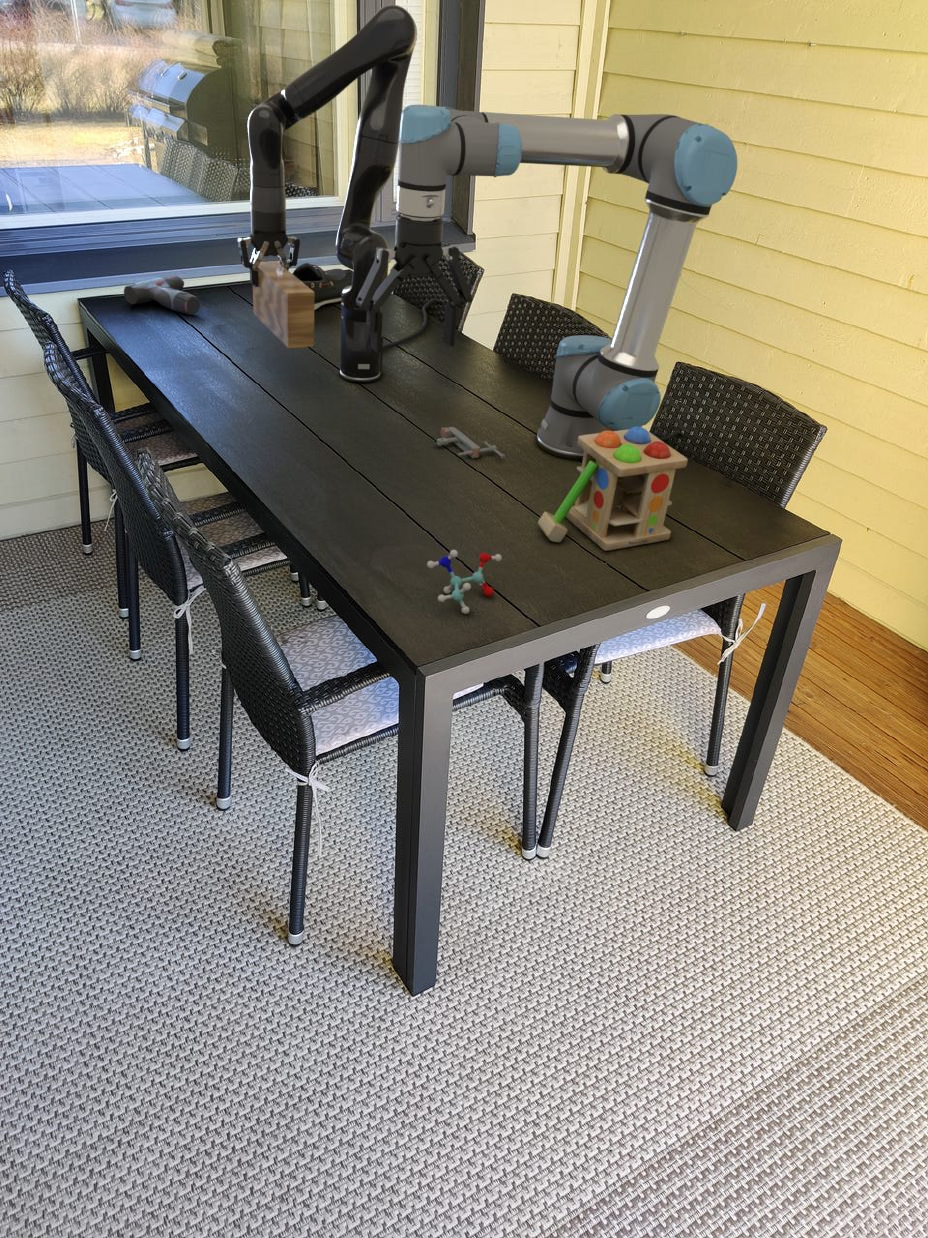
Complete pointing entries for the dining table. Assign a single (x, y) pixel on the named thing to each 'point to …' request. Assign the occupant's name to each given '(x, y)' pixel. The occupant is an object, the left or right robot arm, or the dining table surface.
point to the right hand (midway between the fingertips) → (412, 346)
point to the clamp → (464, 443)
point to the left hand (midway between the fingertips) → (269, 285)
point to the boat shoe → (323, 282)
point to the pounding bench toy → (619, 490)
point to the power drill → (163, 294)
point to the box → (284, 305)
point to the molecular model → (457, 581)
